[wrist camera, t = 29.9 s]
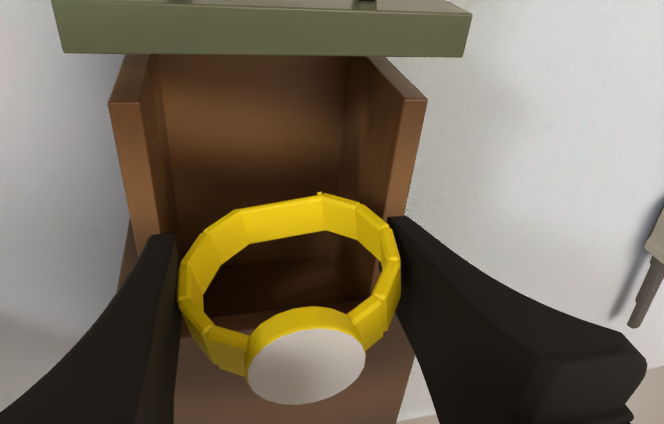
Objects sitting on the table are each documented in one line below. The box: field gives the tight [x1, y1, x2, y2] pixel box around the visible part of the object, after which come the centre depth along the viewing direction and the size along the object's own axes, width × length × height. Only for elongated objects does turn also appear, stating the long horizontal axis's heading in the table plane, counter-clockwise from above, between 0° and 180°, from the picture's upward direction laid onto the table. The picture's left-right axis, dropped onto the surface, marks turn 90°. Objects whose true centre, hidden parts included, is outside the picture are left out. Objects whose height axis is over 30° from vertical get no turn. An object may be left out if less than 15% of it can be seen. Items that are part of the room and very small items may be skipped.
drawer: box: [51, 0, 472, 321], centre depth 17 cm, size 19×10×7 cm, turn 176°
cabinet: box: [116, 218, 415, 424], centre depth 25 cm, size 16×12×9 cm
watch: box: [177, 192, 401, 405], centre depth 13 cm, size 6×3×6 cm, turn 97°
